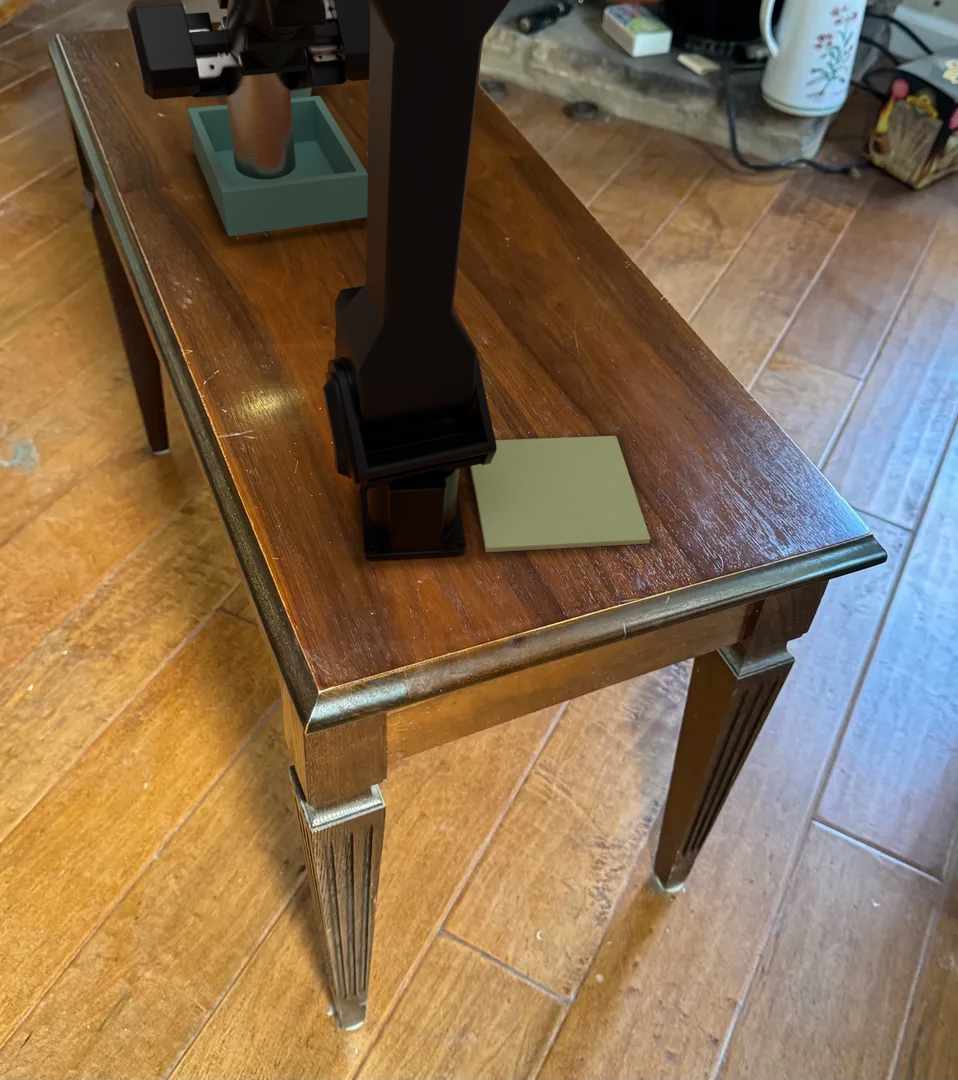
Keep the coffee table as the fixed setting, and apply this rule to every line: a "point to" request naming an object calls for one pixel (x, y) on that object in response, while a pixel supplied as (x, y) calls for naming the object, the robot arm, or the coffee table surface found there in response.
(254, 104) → the bottle
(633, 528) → the placemat
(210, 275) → the coffee table surface
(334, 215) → the teal open box
